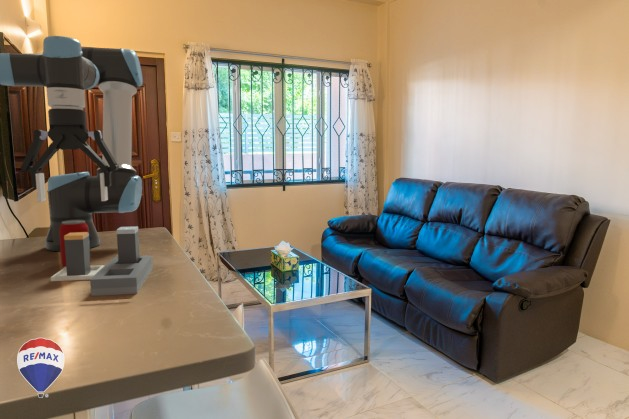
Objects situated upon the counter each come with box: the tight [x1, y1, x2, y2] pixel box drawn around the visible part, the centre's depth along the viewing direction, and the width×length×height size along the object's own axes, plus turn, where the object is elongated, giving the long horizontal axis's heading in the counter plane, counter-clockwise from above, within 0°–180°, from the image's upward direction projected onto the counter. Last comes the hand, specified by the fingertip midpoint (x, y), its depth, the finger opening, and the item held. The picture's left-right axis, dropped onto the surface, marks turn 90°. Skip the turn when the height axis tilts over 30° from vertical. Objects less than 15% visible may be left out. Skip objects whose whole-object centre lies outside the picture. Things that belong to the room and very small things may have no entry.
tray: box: [50, 264, 106, 282], centre depth 106 cm, size 9×9×2 cm
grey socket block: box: [89, 254, 154, 297], centre depth 101 cm, size 20×9×4 cm, turn 11°
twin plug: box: [116, 226, 141, 264], centre depth 106 cm, size 4×4×10 cm
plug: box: [64, 232, 91, 276], centre depth 105 cm, size 4×4×10 cm
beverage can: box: [59, 220, 91, 268], centre depth 115 cm, size 7×7×12 cm
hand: (73, 201), depth 103 cm, fingers open, 13 cm apart
